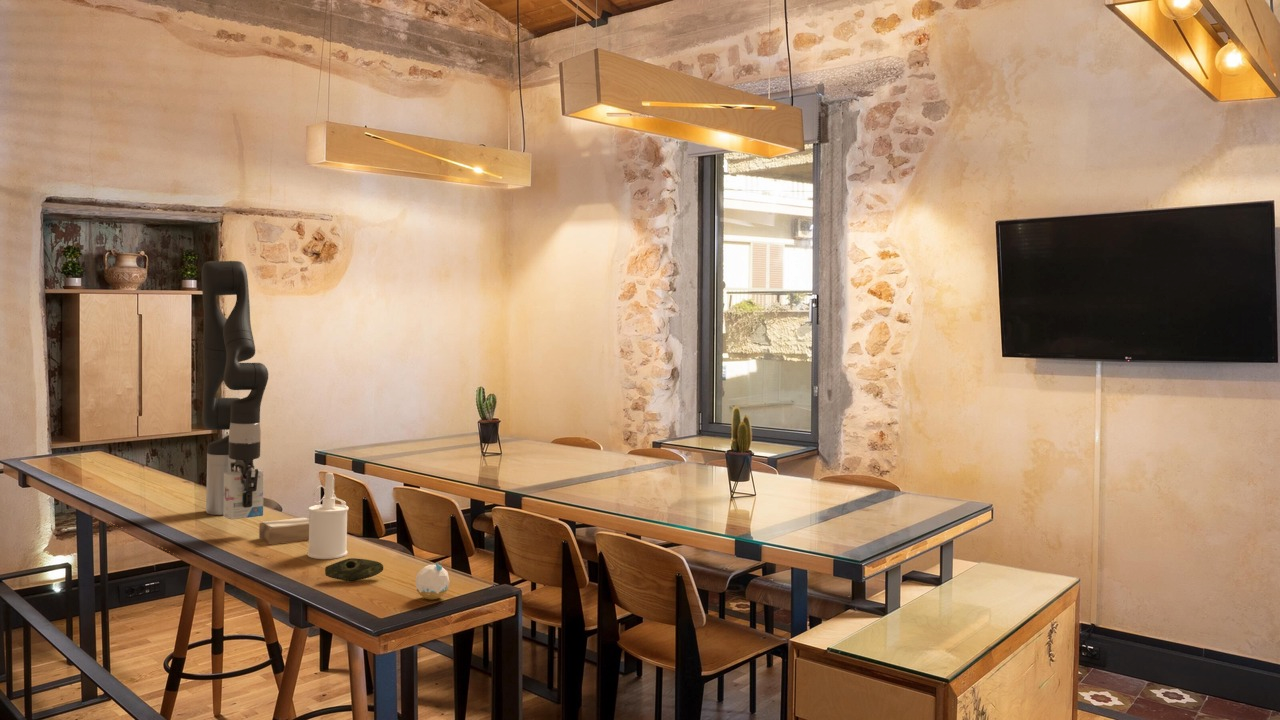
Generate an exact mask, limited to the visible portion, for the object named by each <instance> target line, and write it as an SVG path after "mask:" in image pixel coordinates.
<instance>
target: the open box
mask: <svg viewBox="0 0 1280 720" xmlns="http://www.w3.org/2000/svg"><path fill="white" fill-rule="evenodd" d="M258 528H259V529H258V531H259V533H258V536H259V537H258V539H260V540H262V541H263V542H265V543H267V544H269V545H278V544H286V543H294V542H301V541H309V518H307V517H305V516H304V517H296V518H286V519H278V520H269V521H267V520H266V521H262V522H259V527H258Z"/></svg>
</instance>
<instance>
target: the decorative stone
mask: <svg viewBox="0 0 1280 720" xmlns="http://www.w3.org/2000/svg"><path fill="white" fill-rule="evenodd" d="M324 568H325V569H324V574H325V576H326V577H328V578H331V579H334V580H340V581H344V582H348V583H349V582H356V581H357V582H358V581H362V580H365V579H369V578H372V577H375V576H377V575H379V574H380V573H382V572H383V571H384V565H383V563H382V562H379V561H377V560H371V559H366V558H365V559H364V558H357V557H356V558H355V557H353V558H346V559H343V560H340V561H337V562H334V563H331V564H329V565H326V566H325V567H324Z"/></svg>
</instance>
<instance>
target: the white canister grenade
mask: <svg viewBox="0 0 1280 720" xmlns="http://www.w3.org/2000/svg"><path fill="white" fill-rule="evenodd" d="M324 476H325V477H324V485H318V486H317V487H315V488H314V490H313V491H312V492H313V493H312V501H313V502H314V503H316V505H312V506H309V507H308V510H307V511H308V513H309V515H308V516H309V517H308V519H309V540H308V551H307V557H309V558H311V559H316V560H333V559H340V558H344V557H345V556H347V555H348V549H347V543H348V542H347V541H348V540H347V539H348V538H347V536H348V511H349V510H350V509H349V508H350V507H349V506H348V505H347V502H346V501H345V500H343V499H341V498H338V497H337V496H336V494H335V475H334V473H333V472H329V471H328V472H326V473H325V475H324ZM320 488H323V492H324V495H323V496H322V498H321V499H320V500H319V501H316V499H315V497H316V496H315V495H316V492H317V491H318V489H320ZM336 501H339V502H341V503H340V504H339V503H336ZM321 502H322V504H319V503H321Z"/></svg>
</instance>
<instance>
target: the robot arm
mask: <svg viewBox="0 0 1280 720" xmlns="http://www.w3.org/2000/svg"><path fill="white" fill-rule="evenodd" d="M200 278H201V290H202V291H201V292H202V304H203V305H202V306H203V338H202V349H203V351H202V353H203V354H202V355H203V357H202V358H203V375H204V376H203V395H202V410H201V411H202V415H201V416H202V417H201V418H202V419H201V420H202V424H203V427H204V428H205V429H206V430H209V431H210V430H212V431H213V430H214V431H216V430H217V431H218V430H219V431H220V430H224V431H225V430H226V431H227V430H228V435H226V436H224V437H223V438H220V439H217V440H214V441H212V442H210V443H208V444H207V447H206V449H207V451H206V452H207V453H206V497H205V498H206V499H205V500H206V501H205V513H206V514H208V515H213V516H214V515H215V516H216V515H217V516H224V472H233V471H235V472H238V473H240V483H241V484H242V490H243V502H242V506H243V507H244V508H247V507H251V506H252V492H254V491H256V489H257V480H258V470H259V468H255V465H254V460H256V459H259V458H260V457H261V437H262V436H261V433H262V432H261V406H262V405H261V404H262V401H263V397H264V393H265V390H266V388H267V387H266V386H267V384H268V381H269V371H268V367H266V365H265V364H264V363H262V362H245V361H249V360H250V359H252V358H253V357H254V356H255V355H256V346H255V340H254V336H253V331H252V330H253V329H252V325H251V313H250V312H251V307H250V293H249V292H250V291H249V281H248V273H247V269H246V267H245V265H244V263H243V262H241V261H238V260H222V261H221V260H211V261H205V262H204V263H203V265H202V266H201V277H200ZM235 295H236V298H235V299H236V300H235V304H234V306H233V308H232V310H231V311H230V314H229V315H228V317H226V316H225V315H224V314H223V312H222V310H221V309H220V307H219V304H218V303H217V296H235ZM222 383H224V385H225V386H226V387H227V388H228V389H229V390H231V391H250V392H249V394H248V395H247V396H246V397H243V398H240V397H216V395H217V393H218V390H219V389H220V387H221V385H222ZM242 473H243V474H242ZM243 478H244V479H246V480H243ZM245 484H246V485H245ZM249 484H250V487H249Z"/></svg>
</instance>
